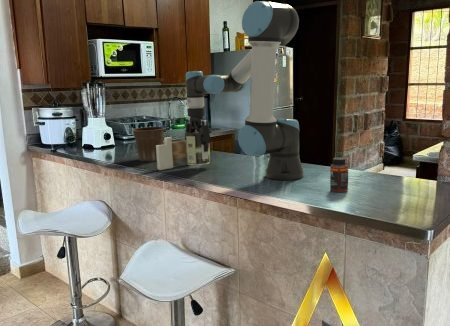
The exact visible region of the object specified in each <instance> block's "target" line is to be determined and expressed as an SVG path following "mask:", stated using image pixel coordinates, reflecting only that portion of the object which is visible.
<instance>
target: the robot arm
mask: <svg viewBox="0 0 450 326" xmlns="http://www.w3.org/2000/svg"><path fill="white" fill-rule="evenodd" d="M299 23H300V18H299V15H298V12H297V10H296V9H295V8H294V7H292V6H291V5H289V4H287V3H279V2H272V1H267V0H262V1H261V0H260V1H259V0H256V1H254V2H252V3H251V4H249V5H248V6H247V8H245V10H244V13H243V14H242V19H241V28H242V30H243V33H244V34H245V35H246V36H247V38H248V39H247V43H248V44H249V45H250V46H251V49H250V50H249V51H248V52H247V53H246V55H245V56H244V57H243V58H242V59H240V61H239V62H238V63H237V64H236V65H235V67H233V69H232V70H231V71H230V72H229V73H228V74H209V75H204V73H203V71H201V70H200V71H199V70H193V71H187V72H186V73H185V81H184V82H185V93H186V106H187V109H186V110H187V117H188V118H186V119H185V130H184V141H186V135H185V133H186V132H195V131H198V132H199V133H203V135H201V140H202V144H201V146H202V159H208V144H209V145H210V143H212V140H211V134H210V130H209V122H208V120H207V119H205V120H204V118H203V117H205V115H206V112H205V111H206V110H205V94H212V95H215V94H224V93H226V94H227V93H238V92H239V93H240V92H242V91H244V90H245V89H246V86H247V81H248V80H249V79H250V90H249V92H250V93H249V96H250V97H249V114H248V115H247V116H246V117H245V118H244V125H243V126H242V127H241V128H240V129H239V130H238V133H237V140H238V144H239V147H240V149H241V150H242V152H244V153H245V154H246V155H248V156H250V157H261V156H264V155H269V159H268V163H267V166H266V169H265V177H266V178H268V179H271V180H277V181H291V180H298V179H302V178H303V177H304V175H305V173H304V169H303V166H302V163H301V159H300V124H299V121H298V119H288V118H275V116H274V101H275V100H274V97H275V82H276V81H275V79H276V64H277V63H276V62H277V61H276V60H277V51H278V49H280V48H281V47H285V46H287V44H288V43H290V41H291V40H293V38H294V37H295V35H296V34H297V31H298V29H299Z"/></svg>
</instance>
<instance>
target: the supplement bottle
mask: <svg viewBox="0 0 450 326" xmlns="http://www.w3.org/2000/svg"><path fill="white" fill-rule="evenodd" d="M332 160H333V163H332V164H330V173H329V175H330V179H329V181H330V182H329V183H330V185H329V186H330V187H329V189H330V191H332V192H333V193H346V192H347V191H349V166H348V164H347V163H346V158H345V157H333V158H332Z"/></svg>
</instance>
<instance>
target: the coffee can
mask: <svg viewBox="0 0 450 326" xmlns="http://www.w3.org/2000/svg"><path fill="white" fill-rule="evenodd" d="M185 135H186V140H185V141H186V148H187V164H186V165H188V166H194V167H197V166H198V167H199V166H206V165H209V164H210V163H211V157H210V158H209V145H210V143H209V144H208V159H202V146H201V144H202V140H201V135H203V133H199V132H198V131H197V130H196V131H195V132H186V133H185V132H184V136H185Z"/></svg>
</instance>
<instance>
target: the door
mask: <svg viewBox="0 0 450 326" xmlns="http://www.w3.org/2000/svg"><path fill="white" fill-rule="evenodd" d="M172 157H173V167H177V166H183V165H188V164H187V148H186V140H180V141H172Z"/></svg>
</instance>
